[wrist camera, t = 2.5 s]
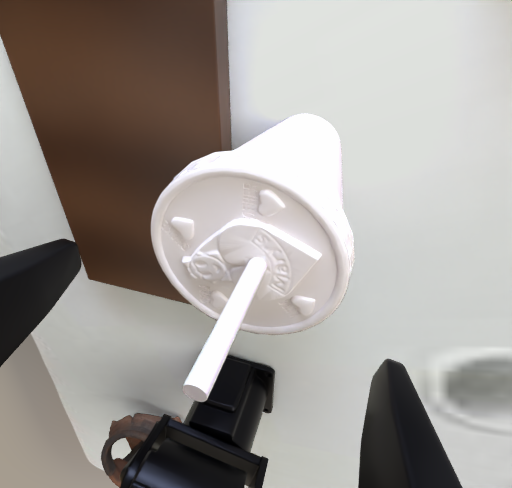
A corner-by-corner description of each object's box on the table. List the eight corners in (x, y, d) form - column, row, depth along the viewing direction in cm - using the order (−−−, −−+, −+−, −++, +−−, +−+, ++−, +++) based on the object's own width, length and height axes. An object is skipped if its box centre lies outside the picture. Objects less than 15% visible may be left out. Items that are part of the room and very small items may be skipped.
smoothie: (379, 196, 18) (359, 498, 7) (266, 213, 21) (131, 452, 10) (357, 64, 15) (268, 248, 4) (228, 104, 18) (-24, 278, 7)
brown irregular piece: (116, 409, 46) (75, 453, 38) (169, 370, 44) (138, 406, 36) (172, 482, 46) (144, 541, 38) (228, 445, 44) (210, 499, 36)
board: (237, 300, 26) (229, 314, 25) (100, 268, 29) (88, 279, 28) (225, -51, 14) (210, -55, 13) (-3, -46, 17) (-32, -49, 16)
